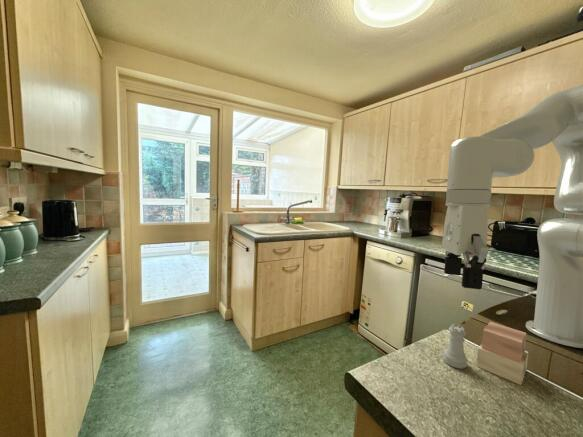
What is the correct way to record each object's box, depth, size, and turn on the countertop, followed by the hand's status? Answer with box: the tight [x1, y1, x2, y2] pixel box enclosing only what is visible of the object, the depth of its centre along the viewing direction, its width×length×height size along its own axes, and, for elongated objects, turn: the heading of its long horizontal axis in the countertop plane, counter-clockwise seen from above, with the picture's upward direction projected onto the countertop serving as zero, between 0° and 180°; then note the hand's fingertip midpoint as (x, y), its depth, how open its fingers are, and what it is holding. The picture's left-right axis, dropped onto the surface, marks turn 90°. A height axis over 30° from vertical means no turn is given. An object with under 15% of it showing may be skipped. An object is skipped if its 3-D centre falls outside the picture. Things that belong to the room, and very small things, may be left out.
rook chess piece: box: [442, 323, 469, 370], centre depth 53 cm, size 4×4×8 cm
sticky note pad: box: [476, 321, 529, 386], centre depth 52 cm, size 7×7×8 cm
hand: (460, 280), depth 52 cm, fingers open, 9 cm apart
